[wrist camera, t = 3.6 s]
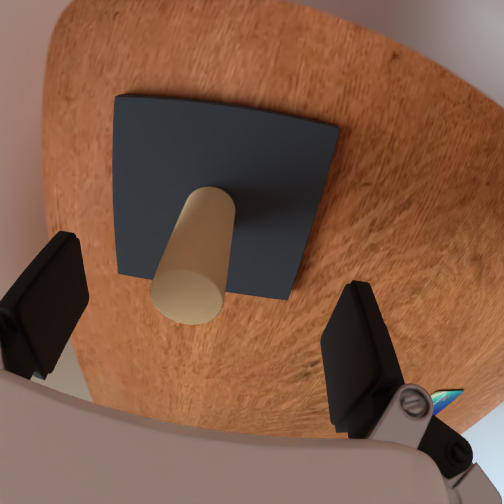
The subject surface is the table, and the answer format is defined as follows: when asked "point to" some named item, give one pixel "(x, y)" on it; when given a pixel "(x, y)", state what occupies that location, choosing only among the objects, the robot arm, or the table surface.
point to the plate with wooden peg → (214, 198)
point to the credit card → (443, 399)
